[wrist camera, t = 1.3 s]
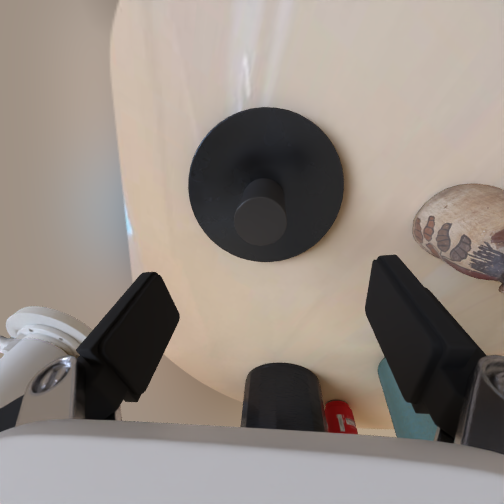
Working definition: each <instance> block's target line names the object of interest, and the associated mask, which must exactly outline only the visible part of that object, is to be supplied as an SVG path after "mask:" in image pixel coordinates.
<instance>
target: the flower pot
mask: <svg viewBox="0 0 504 504" xmlns="http://www.w3.org/2000/svg"><path fill="white" fill-rule="evenodd" d="M378 375H379V379H380V382H381V385H382V389H383V392H384V395H385V399H386V402H387V406H388V409H389V412H390V415H391V419H392V422H393V426H394V429H395V433H396V436H397V438H409V439H421V440H430V441H434V437H435V433H436V430H437V426H436V425H435V424H434V422H433V420H432V418H431V416H430V414H417V413H415V411H414V409H413V407H412V404H411V403H408V402H406V401H405V400H404V398H403V396H402V394H401V392H400V390H399V387H398V385H397V383H396V381H395V378H394V376H393V374H392V372H391V369H390V367H389V365H388V363H387V360H386V358H384V359H383V360H382V361H381V363H380V364H379V367H378Z"/></svg>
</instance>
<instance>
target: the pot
mask: <svg viewBox="0 0 504 504" xmlns="http://www.w3.org/2000/svg"><path fill="white" fill-rule="evenodd" d="M241 427H245V428H262V429H279V430H295V431H311V432H327V433H328V429H327V423H326V417H325V411H324V405H323V399H322V393H321V387H320V384H319V381H318V378H317V377H316V376H315V374H313V373H312V372H311V371H309V370H308V369H306V368H304V367H301V366H298V365H294V364H288V363H270V364H265V365H261V366H259V367H256V368H255V369H253V370H252V371H250V373H249V374H248V376H247V379H246V383H245V392H244V401H243V410H242V420H241Z"/></svg>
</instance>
